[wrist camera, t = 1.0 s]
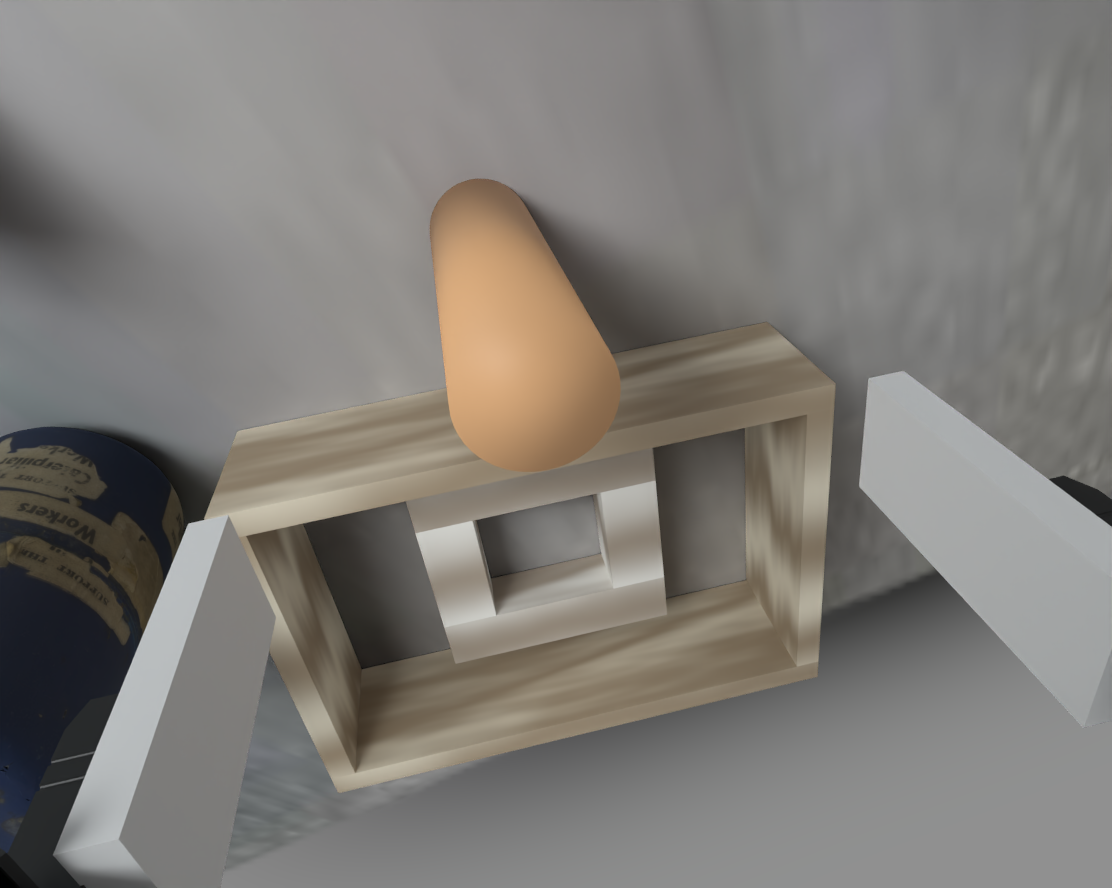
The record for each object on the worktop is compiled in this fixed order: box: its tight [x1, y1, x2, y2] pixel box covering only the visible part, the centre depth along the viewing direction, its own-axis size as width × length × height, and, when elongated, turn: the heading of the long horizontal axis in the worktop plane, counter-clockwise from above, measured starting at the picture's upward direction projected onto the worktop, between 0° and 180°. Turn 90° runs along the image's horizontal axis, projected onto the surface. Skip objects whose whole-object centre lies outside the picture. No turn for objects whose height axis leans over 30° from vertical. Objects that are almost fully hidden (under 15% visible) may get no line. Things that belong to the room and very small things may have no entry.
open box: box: [204, 322, 836, 793], centre depth 38 cm, size 18×26×7 cm
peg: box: [430, 179, 621, 472], centre depth 26 cm, size 4×4×16 cm
